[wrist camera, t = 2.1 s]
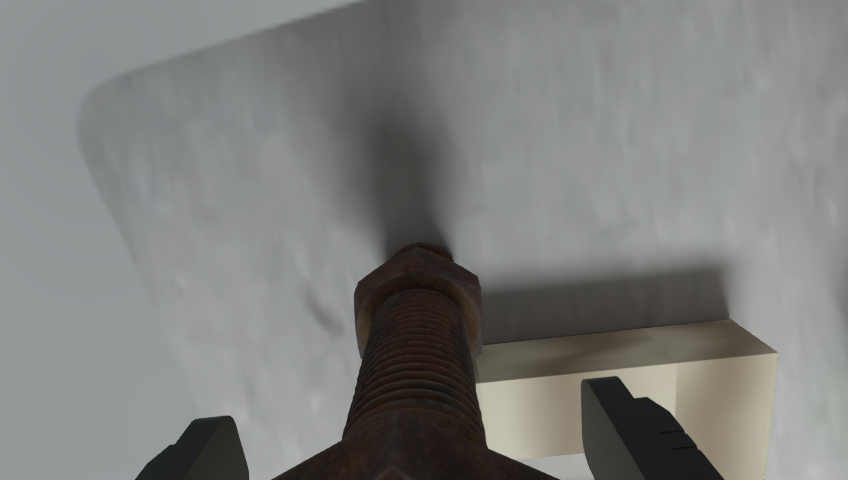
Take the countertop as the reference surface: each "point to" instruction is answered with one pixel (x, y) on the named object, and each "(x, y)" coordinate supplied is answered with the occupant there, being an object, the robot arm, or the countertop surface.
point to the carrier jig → (634, 389)
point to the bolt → (416, 380)
